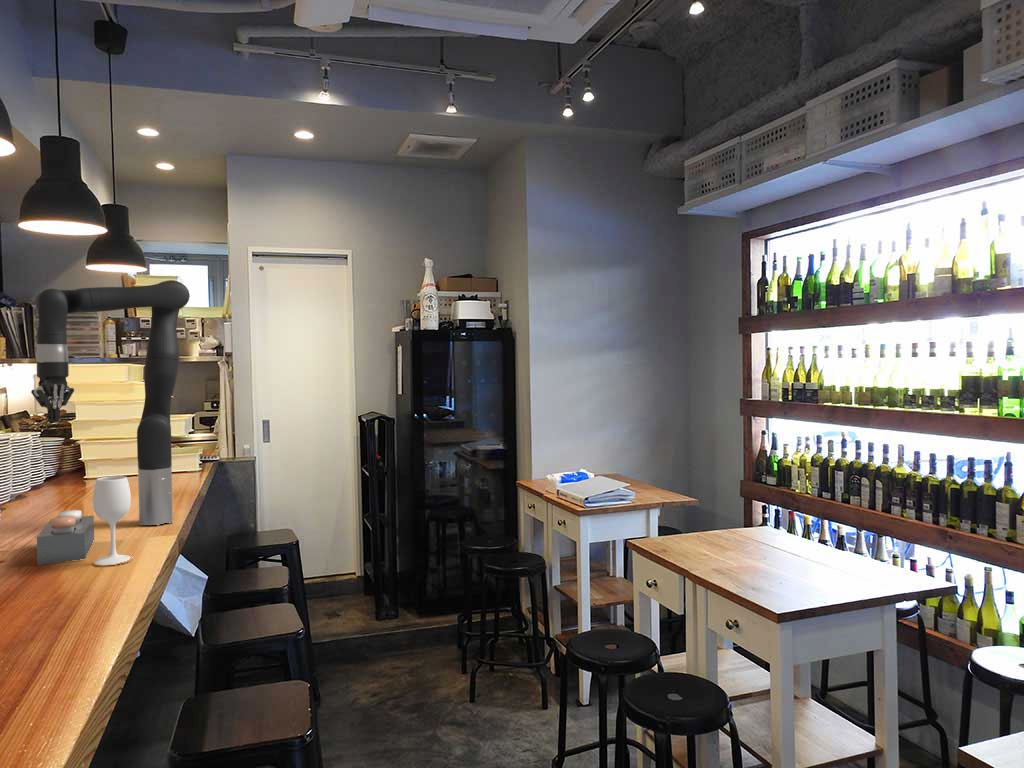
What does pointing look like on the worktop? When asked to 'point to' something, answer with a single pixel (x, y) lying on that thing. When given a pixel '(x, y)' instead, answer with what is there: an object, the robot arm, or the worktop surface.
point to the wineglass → (112, 509)
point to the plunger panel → (65, 543)
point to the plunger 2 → (63, 524)
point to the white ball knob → (72, 514)
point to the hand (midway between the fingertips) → (53, 421)
